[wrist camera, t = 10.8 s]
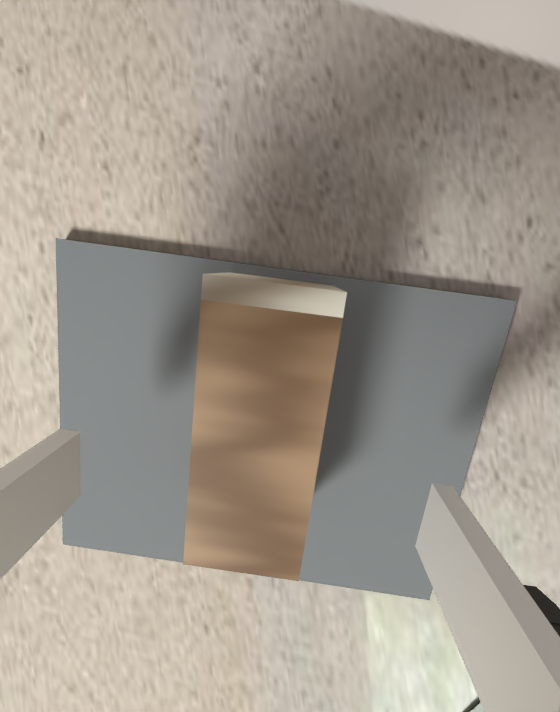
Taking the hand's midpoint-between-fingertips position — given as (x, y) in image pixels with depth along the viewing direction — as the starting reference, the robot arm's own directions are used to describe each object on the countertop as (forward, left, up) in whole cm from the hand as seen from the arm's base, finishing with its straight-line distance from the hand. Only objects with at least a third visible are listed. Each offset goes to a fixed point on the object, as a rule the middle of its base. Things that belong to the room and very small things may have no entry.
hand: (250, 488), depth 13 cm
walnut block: (0, -3, -2) cm, 4 cm away
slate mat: (0, 0, -5) cm, 5 cm away
